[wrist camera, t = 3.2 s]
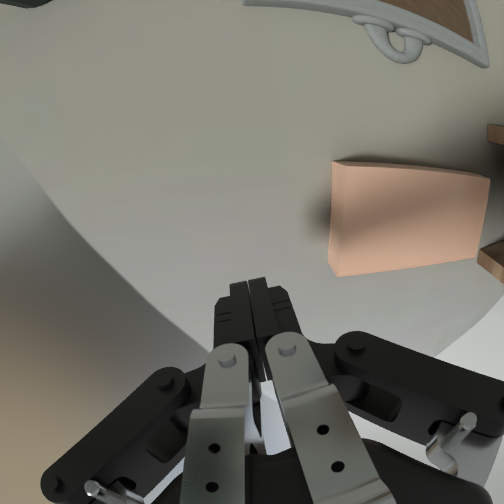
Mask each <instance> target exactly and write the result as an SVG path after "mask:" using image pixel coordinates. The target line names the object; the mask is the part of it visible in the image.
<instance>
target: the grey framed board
mask: <svg viewBox="0 0 504 504" xmlns="http://www.w3.org/2000/svg"><path fill="white" fill-rule="evenodd" d="M242 5H243V6H264V7H283V8H295V9H304V10H312V11H319V12H326V13H332V14H337V15H342V16H347V17H352V20H353V21H354V22H355V23H356V24H359V25H364V26H365V28H366V30H367V33H368V34H369V36H370V38H371V40H372V41H373V43H374V44H375V46H376V47H377V48H378V49H379V50H380V51H381V52H382V53H383V54H384V55H385V56H386V57H388V58H389V59H391V60H392V61H395V62H397V63H402V64H406V63H411V62H413V61H415V60H416V59H417V58H418V57H419V55H420V53H421V50H422V46H423V45H429V44H431V43H433V44H435V45H437V46H439V47H442V48H444V49H446V50H448V51H450V52H452V53H454V54H456V55H458V56H460V57H462V58H464V59H466V60H468V61H470V62H471V63H473V64H475V65H477V66H479V67H480V68H488V67H489V66H490V64H489V56H488V50H487V45H486V39H485V35H484V30H483V26H482V22H481V18H480V14H479V10H478V7H477V4H476V0H242ZM394 30H395V32H396V33H397V34H398V35H399V36H401V37H404V42H405V49H404V52H399V51H397V50H395V49H394V48H393V47H392V46H391V44H390V42H389V39H388V35H387V32H393V31H394Z"/></svg>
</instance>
